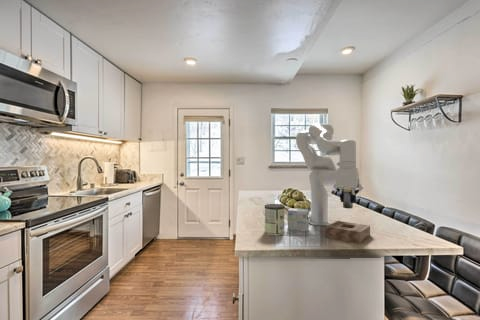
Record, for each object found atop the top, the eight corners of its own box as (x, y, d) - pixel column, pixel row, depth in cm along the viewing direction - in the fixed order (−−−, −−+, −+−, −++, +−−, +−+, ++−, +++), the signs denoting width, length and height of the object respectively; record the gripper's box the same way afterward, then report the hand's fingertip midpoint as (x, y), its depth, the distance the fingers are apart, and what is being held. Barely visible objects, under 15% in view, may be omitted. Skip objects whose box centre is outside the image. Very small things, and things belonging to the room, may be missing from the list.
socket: (325, 236, 129) (325, 226, 129) (337, 230, 141) (337, 220, 141) (359, 243, 119) (359, 232, 119) (370, 235, 131) (370, 225, 131)
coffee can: (268, 229, 144) (268, 203, 144) (286, 231, 140) (286, 204, 140) (261, 234, 135) (261, 206, 135) (281, 236, 130) (281, 207, 130)
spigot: (341, 207, 130) (341, 189, 130) (344, 206, 133) (344, 188, 133) (350, 208, 127) (350, 190, 127) (354, 207, 130) (353, 189, 130)
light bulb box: (308, 228, 145) (308, 208, 145) (307, 231, 139) (307, 211, 139) (289, 227, 149) (289, 207, 149) (287, 230, 142) (287, 210, 142)
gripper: (327, 165, 133) (328, 201, 133) (363, 165, 122) (363, 205, 122) (333, 164, 138) (333, 199, 138) (368, 165, 127) (368, 203, 127)
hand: (347, 202), depth 130 cm, fingers closed on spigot, 4 cm apart
